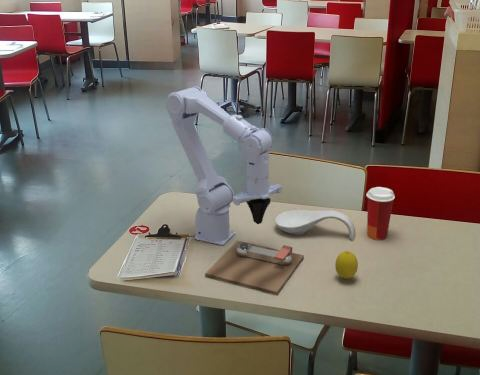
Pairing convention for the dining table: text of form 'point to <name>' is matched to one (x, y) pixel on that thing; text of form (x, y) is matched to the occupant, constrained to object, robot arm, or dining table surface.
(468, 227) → the dining table surface
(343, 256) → the lemon
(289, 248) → the keeper
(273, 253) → the link
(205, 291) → the dining table surface
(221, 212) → the robot arm
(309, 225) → the spoon rest
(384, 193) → the paper cup
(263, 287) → the board
